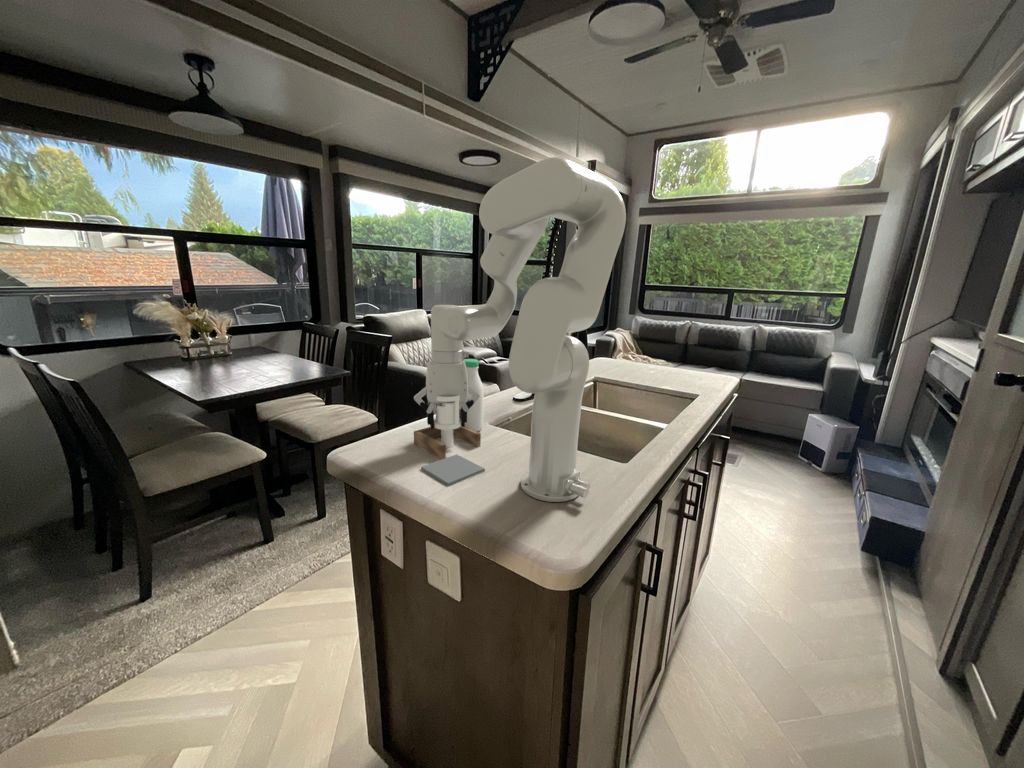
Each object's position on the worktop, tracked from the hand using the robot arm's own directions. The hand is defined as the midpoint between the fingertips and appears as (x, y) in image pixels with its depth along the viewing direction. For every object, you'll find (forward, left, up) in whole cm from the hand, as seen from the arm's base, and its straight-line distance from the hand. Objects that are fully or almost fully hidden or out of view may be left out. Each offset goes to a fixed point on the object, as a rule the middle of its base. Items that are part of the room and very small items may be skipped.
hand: (447, 425), depth 101 cm
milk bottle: (+5, -12, -6) cm, 14 cm away
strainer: (0, 0, -6) cm, 6 cm away
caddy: (0, 0, -5) cm, 5 cm away
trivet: (-12, +7, -5) cm, 15 cm away
